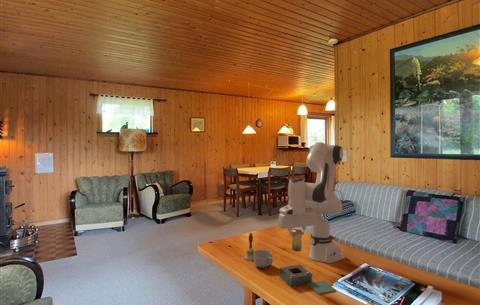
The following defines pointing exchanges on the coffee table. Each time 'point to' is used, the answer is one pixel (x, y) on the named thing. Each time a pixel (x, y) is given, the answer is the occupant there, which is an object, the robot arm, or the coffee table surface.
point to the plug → (297, 240)
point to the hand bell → (250, 250)
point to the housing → (295, 275)
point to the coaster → (321, 287)
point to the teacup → (263, 258)
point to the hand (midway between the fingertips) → (296, 235)
